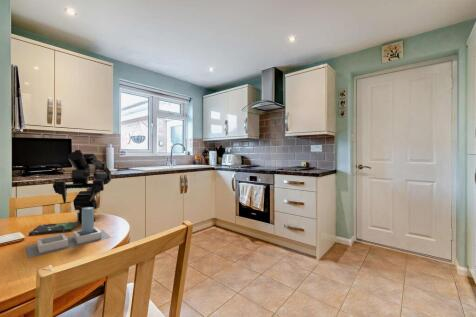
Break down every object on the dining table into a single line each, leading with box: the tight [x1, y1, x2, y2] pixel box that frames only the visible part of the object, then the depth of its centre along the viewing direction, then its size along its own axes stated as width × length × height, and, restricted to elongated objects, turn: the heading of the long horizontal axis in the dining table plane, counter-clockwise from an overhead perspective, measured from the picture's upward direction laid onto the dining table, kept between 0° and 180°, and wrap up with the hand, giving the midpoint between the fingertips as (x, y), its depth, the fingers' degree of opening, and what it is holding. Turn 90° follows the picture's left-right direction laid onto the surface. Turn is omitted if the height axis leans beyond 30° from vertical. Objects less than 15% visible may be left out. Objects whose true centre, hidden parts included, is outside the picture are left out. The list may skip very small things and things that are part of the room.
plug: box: [81, 207, 95, 235], centre depth 91 cm, size 4×4×12 cm
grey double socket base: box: [25, 226, 112, 259], centre depth 87 cm, size 25×12×4 cm, turn 136°
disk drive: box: [28, 221, 79, 236], centre depth 100 cm, size 10×3×15 cm
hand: (77, 201), depth 99 cm, fingers open, 9 cm apart
